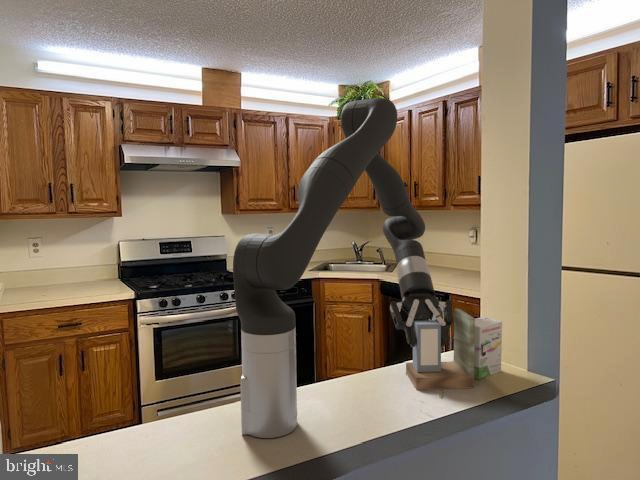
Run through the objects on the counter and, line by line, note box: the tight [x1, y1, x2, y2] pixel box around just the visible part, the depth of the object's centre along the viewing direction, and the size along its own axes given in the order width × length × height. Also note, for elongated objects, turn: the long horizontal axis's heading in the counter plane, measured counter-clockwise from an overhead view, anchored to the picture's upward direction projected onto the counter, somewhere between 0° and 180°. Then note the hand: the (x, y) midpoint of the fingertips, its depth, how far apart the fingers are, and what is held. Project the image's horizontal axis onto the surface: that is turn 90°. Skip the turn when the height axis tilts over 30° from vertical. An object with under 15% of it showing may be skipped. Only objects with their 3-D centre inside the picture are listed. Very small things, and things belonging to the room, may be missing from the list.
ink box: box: [474, 316, 503, 380], centre depth 104 cm, size 8×5×12 cm, turn 126°
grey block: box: [412, 319, 442, 372], centre depth 99 cm, size 5×4×10 cm
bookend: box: [405, 308, 476, 391], centre depth 99 cm, size 12×9×14 cm
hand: (428, 344), depth 98 cm, fingers open, 6 cm apart
